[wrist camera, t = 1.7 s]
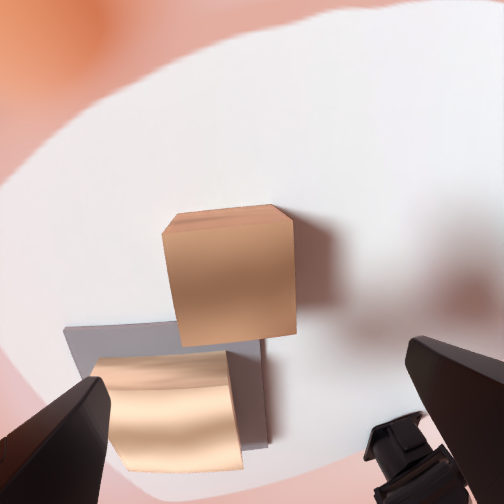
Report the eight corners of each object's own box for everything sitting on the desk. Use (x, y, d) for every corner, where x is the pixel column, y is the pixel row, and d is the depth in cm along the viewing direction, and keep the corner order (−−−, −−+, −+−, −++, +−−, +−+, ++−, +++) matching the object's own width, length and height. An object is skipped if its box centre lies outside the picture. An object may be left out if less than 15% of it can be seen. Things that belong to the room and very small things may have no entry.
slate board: (267, 443, 26) (268, 447, 25) (121, 449, 25) (120, 453, 24) (256, 312, 22) (257, 316, 21) (65, 327, 21) (62, 330, 20)
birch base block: (239, 435, 25) (243, 469, 21) (134, 439, 24) (128, 471, 20) (225, 350, 22) (228, 385, 18) (98, 357, 21) (83, 389, 17)
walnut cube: (276, 290, 22) (296, 334, 16) (190, 299, 21) (182, 347, 15) (270, 204, 20) (293, 220, 14) (177, 213, 19) (161, 234, 14)
